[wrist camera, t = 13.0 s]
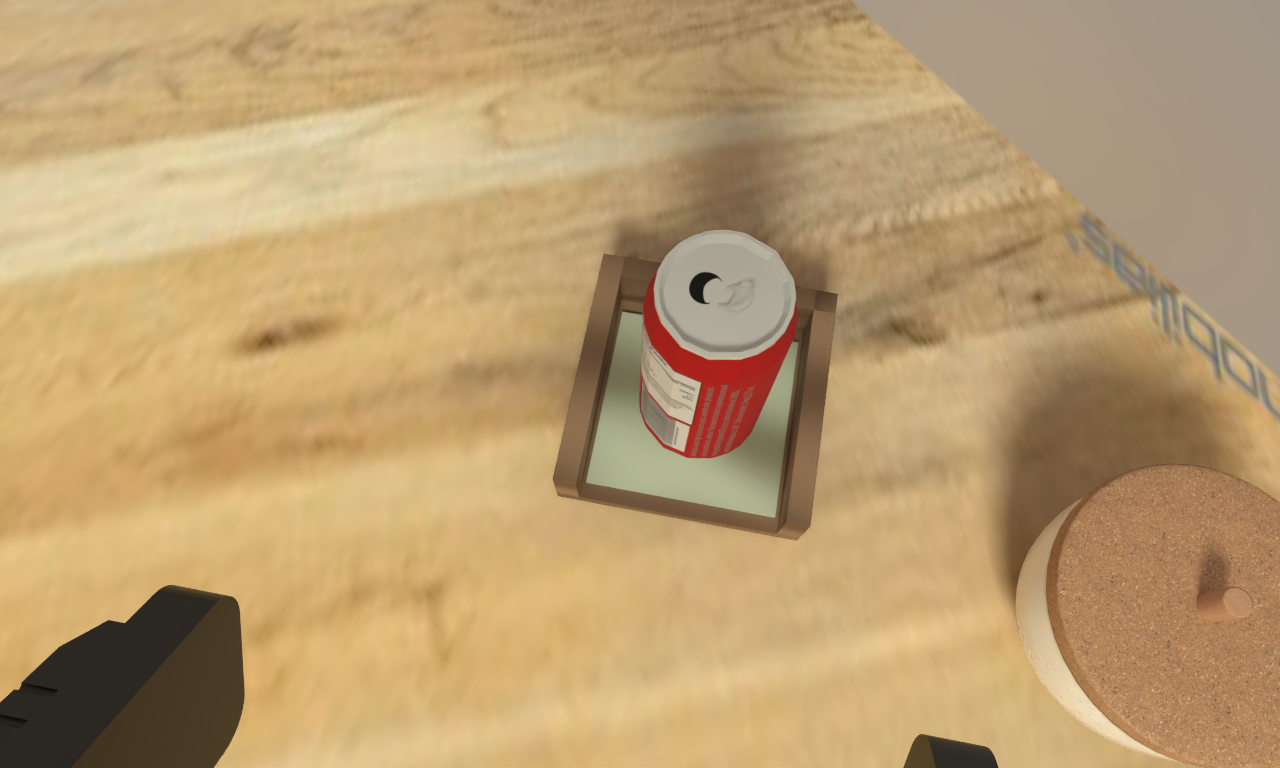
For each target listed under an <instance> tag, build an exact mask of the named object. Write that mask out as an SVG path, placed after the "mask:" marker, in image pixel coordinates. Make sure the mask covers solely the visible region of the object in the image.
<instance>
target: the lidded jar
mask: <svg viewBox="0 0 1280 768" xmlns="http://www.w3.org/2000/svg"><path fill="white" fill-rule="evenodd" d="M1015 608H1016V619H1017V627H1018V631H1019V635H1020V640H1021V643H1022V646H1023V648H1024V651H1025V654H1026V656H1027V659H1028V661H1029V663H1030V665H1031V666H1032V668H1033V670H1034V672H1035V673H1036V675H1037V677H1038V679H1039V680H1040V681H1041V683H1042V684H1043V685H1044V687H1045V688H1046V689H1047V690H1048V692H1049V693H1050V694H1051V696H1052V697H1053V698H1054V699H1055V700H1056V701H1057V702H1058V703H1059V704H1060V705H1061V706H1062V707H1063V708H1064V709H1065V710H1066V711H1067V712H1068V713H1069V714H1070V715H1071V716H1073V717H1074V718H1075V719H1077V720H1078V721H1079V722H1080V723H1082V724H1083V725H1084V726H1086V727H1087V728H1089V729H1091V730H1093V731H1094V732H1096V733H1098V734H1100V735H1101V736H1103V737H1105V738H1107V739H1109V740H1110V741H1112V742H1114V743H1116V744H1119V745H1121V746H1124V747H1126V748H1129V749H1131V750H1134V751H1137V752H1140V753H1143V754H1146V755H1149V756H1154V757H1158V758H1162V759H1167V760H1171V761H1177V762H1183V763H1187V764H1192V765H1196V766H1200V767H1205V768H1270V767H1273V766H1276V765H1280V502H1278V501H1277V500H1275V499H1274V498H1273V497H1271V496H1270V495H1268V494H1267V493H1265V492H1264V491H1262V490H1261V489H1259V488H1257V487H1255V486H1253V485H1251V484H1249V483H1247V482H1245V481H1243V480H1241V479H1239V478H1237V477H1234V476H1232V475H1229V474H1226V473H1223V472H1220V471H1218V470H1214V469H1210V468H1205V467H1200V466H1195V465H1184V464H1162V465H1152V466H1147V467H1143V468H1139V469H1135V470H1131V471H1128V472H1126V473H1124V474H1122V475H1120V476H1117V477H1115V478H1113V479H1111V480H1109V481H1107V482H1105V483H1103V484H1101V485H1100V486H1099V487H1097V488H1096V489H1094V490H1093V491H1092V492H1090V493H1089V494H1087V495H1086V496H1084V497H1083V498H1081V499H1079V500H1078V501H1076V502H1075V503H1073V504H1072V505H1071V506H1069V507H1068V508H1066V509H1065V510H1064V511H1062V512H1061V513H1060V514H1059V515H1058V516H1057V517H1055V518H1054V519H1053V520H1052V521H1051V523H1050V524H1049V525H1048V526H1047V527H1046V528H1045V529H1044V530H1043V531H1042V532H1041V534H1040V535H1039V537H1038V538H1037V539H1036V541H1035V542H1034V544H1033V545H1032V547H1031V549H1030V550H1029V552H1028V553H1027V556H1026V558H1025V560H1024V563H1023V565H1022V568H1021V571H1020V575H1019V580H1018V584H1017V592H1016V607H1015Z"/></svg>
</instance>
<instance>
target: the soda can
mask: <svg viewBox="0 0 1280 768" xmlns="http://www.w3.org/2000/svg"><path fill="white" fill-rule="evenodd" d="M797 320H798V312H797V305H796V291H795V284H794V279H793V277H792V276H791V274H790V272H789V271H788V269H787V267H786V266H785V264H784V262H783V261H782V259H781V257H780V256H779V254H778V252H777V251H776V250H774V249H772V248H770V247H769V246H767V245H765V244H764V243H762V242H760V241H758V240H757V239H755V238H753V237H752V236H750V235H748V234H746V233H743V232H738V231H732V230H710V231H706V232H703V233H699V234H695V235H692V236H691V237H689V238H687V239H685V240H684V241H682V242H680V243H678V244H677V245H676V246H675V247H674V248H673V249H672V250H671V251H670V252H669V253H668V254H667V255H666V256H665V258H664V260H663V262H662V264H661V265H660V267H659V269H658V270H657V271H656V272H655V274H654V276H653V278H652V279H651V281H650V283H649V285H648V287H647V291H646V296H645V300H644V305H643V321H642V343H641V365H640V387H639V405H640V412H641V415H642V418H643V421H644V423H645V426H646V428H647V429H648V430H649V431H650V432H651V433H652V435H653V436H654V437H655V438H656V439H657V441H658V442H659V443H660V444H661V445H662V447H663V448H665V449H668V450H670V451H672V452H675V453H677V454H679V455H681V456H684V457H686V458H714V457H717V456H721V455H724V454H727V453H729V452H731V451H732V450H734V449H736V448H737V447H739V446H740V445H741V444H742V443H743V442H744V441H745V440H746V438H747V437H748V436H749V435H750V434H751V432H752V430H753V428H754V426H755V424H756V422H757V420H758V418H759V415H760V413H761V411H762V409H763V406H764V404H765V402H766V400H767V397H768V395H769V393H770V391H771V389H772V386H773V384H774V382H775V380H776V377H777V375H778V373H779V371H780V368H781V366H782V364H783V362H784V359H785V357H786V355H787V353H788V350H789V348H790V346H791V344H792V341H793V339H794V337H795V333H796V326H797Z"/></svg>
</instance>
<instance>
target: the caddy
mask: <svg viewBox="0 0 1280 768" xmlns="http://www.w3.org/2000/svg"><path fill="white" fill-rule="evenodd" d="M660 265H661V263H655V262H649V261H643V260H638V259H632V258H626V257H620V256H614V255H609V254H604V255H603V259H602V264H601V268H600V273H599V277H598V282H597V286H596V290H595V295H594V299H593V304H592V308H591V312H590V317H589V321H588V326H587V330H586V335H585V339H584V343H583V348H582V352H581V357H580V361H579V365H578V370H577V374H576V379H575V383H574V388H573V392H572V396H571V401H570V405H569V410H568V414H567V418H566V423H565V427H564V432H563V436H562V441H561V445H560V449H559V454H558V458H557V463H556V467H555V471H554V476H553V481H554V484H555V488H556V491H557V494H558V496H561V497H566V498H572V499H577V500H583V501H588V502H593V503H599V504H604V505H609V506H615V507H620V508H625V509H631V510H636V511H642V512H647V513H652V514H658V515H663V516H668V517H674V518H679V519H684V520H690V521H695V522H701V523H706V524H711V525H717V526H722V527H727V528H733V529H738V530H743V531H749V532H754V533H759V534H765V535H770V536H776V537H781V538H786V539H792V540H798V539H799V538H800V537H801V536H802V535H803V534H804V533H805V531H806V530H807V529H808V528H809V527H810V525H811V516H812V508H813V499H814V491H815V482H816V474H817V465H818V457H819V448H820V440H821V432H822V423H823V415H824V406H825V398H826V389H827V381H828V372H829V364H830V355H831V347H832V338H833V330H834V322H835V313H836V305H837V296H838V294H835V293H829V292H823V291H817V290H812V289H806V288H800V287H795V291H796V305H797V312H798V320H797V326H796V333H795V337H794V339H793V341H792V344H791V346H790V348H789V350H788V353H787V355H786V357H785V359H784V362H783V364H782V366H781V368H780V371H779V373H778V375H777V377H776V380H775V382H774V384H773V386H772V389H771V391H770V393H769V395H768V397H767V400H766V402H765V404H764V406H763V409H762V411H761V413H760V415H759V418H758V420H757V422H756V424H755V426H754V428H753V430H752V432H751V434H750V435H749V436H748V437H747V438H746V440H745V441H744V442H743V443H742V444H741V445H740V446H739V447H737V448H736V449H734V450H732V451H731V452H729V453H727V454H724V455H721V456H717V457H714V458H686V457H684V456H681V455H679V454H677V453H675V452H672V451H670V450H668V449H665V448H663V447H662V445H661V444H660V443H659V442H658V441H657V439H656V438H655V437H654V436H653V435H652V433H651V432H650V431H649V430H648V429H647V428H646V426H645V423H644V421H643V418H642V415H641V412H640V405H639V387H640V365H641V343H642V321H643V305H644V300H645V296H646V291H647V287H648V285H649V283H650V281H651V279H652V278H653V276H654V274H655V272H656V271H657V270H658V269H659V267H660Z"/></svg>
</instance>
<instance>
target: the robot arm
mask: <svg viewBox="0 0 1280 768" xmlns="http://www.w3.org/2000/svg"><path fill="white" fill-rule="evenodd" d="M243 704H244V675H243V658H242V641H241V624H240V610H239V605H238V602H237V601H236V599H235V598H233V597H231V596H226V595H221V594H216V593H211V592H206V591H201V590H196V589H190V588H185V587H180V586H175V585H168V586H165V587H163V588H161V589H160V590H158V591H157V592H156V593H155V594H154V595H153V596H152V597H151V598H150V599H149V600H148V601H147V602H146V603H145V604H144V605H143V606H142V607H141V608H140V609H139V610H138V611H137V612H136V613H135V614H134V615H133V616H132V617H131V618H130V619H129V620H128V621H127V622H126V623H120V622H115V621H110V620H108V621H106V622H104V623H102V624H101V625H99V626H97V627H95V628H93V629H91V630H90V631H88V632H86V633H84V634H82V635H80V636H79V637H77V638H75V639H73V640H71V641H69V642H68V643H66V644H64V645H62V646H60V647H59V648H58V649H57V650H56V651H55V652H53V653H52V654H51V655H50V656H49V657H48V658H47V659H46V660H45V661H44V662H43V663H42V664H41V665H40V666H39V667H38V668H36V669H35V670H34V671H33V672H32V673H31V674H30V675H29V676H28V677H27V678H26V679H25V680H24V681H23V682H22V685H21V687H20V689H19V690H13V691H12V692H11V693H10V694H9V695H8V696H7V697H6V698H5V699H4V700H2V701H1V702H0V768H214V766H215V765H216V764H217V762H218V761H219V759H220V758H221V756H222V755H223V753H224V752H225V750H226V749H227V747H228V746H229V744H230V742H231V740H232V738H233V736H234V734H235V732H236V729H237V727H238V724H239V721H240V718H241V714H242V710H243ZM904 768H998V765H997V762H996V759H995V757H994V755H993V753H992V751H991V750H990V749H989V748H987V747H985V746H980V745H975V744H970V743H965V742H959V741H954V740H949V739H944V738H939V737H934V736H929V735H924V734H920V735H918V736H917V737H916V738H915V740H914V742H913V744H912V746H911V749H910V752H909V754H908V757H907V760H906V762H905V765H904Z"/></svg>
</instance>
